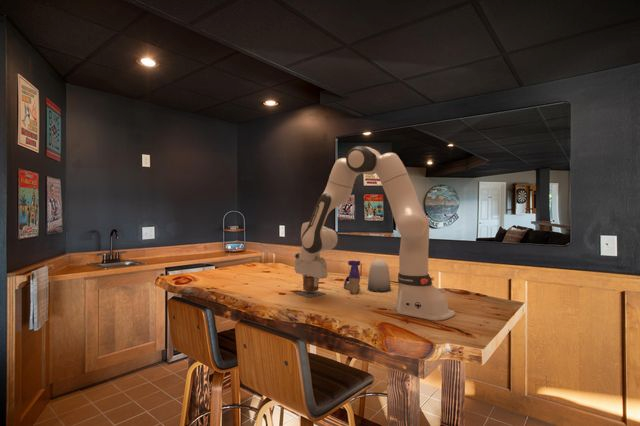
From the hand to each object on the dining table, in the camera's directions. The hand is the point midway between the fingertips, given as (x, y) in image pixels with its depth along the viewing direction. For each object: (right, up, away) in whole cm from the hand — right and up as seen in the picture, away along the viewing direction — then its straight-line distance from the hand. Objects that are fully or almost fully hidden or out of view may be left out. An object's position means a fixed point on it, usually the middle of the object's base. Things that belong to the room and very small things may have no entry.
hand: (310, 285), depth 168 cm
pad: (0, -4, 0) cm, 4 cm away
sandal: (+20, -4, +9) cm, 22 cm away
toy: (+33, -4, +9) cm, 35 cm away
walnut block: (0, -2, 0) cm, 2 cm away
